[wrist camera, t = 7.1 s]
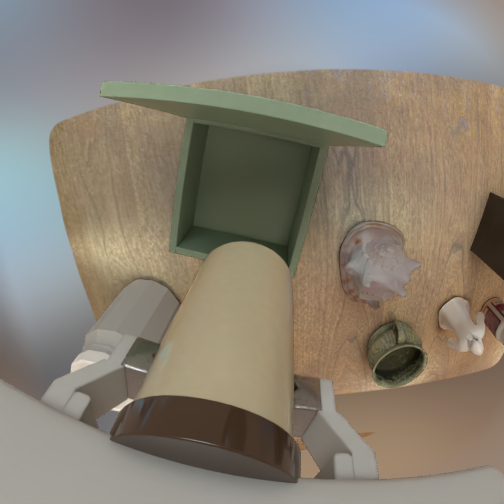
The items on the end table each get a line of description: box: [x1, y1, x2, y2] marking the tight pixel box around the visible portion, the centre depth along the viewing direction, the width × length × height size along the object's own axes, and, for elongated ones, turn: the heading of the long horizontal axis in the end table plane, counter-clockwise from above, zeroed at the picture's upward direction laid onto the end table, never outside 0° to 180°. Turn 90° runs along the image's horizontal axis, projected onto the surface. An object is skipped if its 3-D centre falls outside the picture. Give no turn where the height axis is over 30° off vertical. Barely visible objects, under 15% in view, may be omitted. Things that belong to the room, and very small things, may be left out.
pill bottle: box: [481, 298, 504, 345], centre depth 38 cm, size 5×5×8 cm
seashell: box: [340, 222, 421, 309], centre depth 36 cm, size 10×12×9 cm
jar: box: [71, 280, 180, 412], centre depth 38 cm, size 10×10×18 cm
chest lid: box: [100, 81, 388, 147], centre depth 20 cm, size 16×14×1 cm
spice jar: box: [110, 241, 301, 483], centre depth 11 cm, size 5×5×11 cm
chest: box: [169, 118, 329, 279], centre depth 34 cm, size 15×14×8 cm
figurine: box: [439, 297, 485, 355], centre depth 37 cm, size 8×8×12 cm
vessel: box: [367, 318, 428, 388], centre depth 42 cm, size 12×9×6 cm
